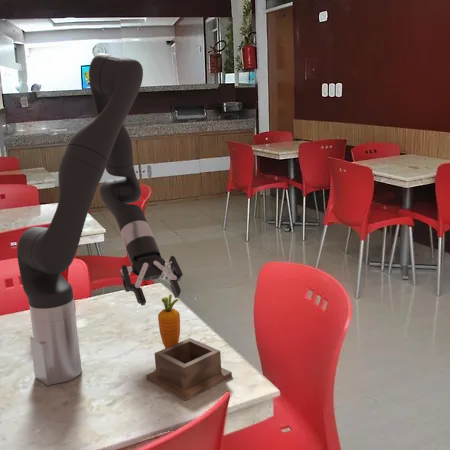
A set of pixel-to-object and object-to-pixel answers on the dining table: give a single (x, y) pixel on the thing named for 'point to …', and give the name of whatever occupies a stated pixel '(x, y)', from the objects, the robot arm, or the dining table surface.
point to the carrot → (169, 323)
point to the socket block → (188, 368)
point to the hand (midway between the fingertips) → (161, 300)
